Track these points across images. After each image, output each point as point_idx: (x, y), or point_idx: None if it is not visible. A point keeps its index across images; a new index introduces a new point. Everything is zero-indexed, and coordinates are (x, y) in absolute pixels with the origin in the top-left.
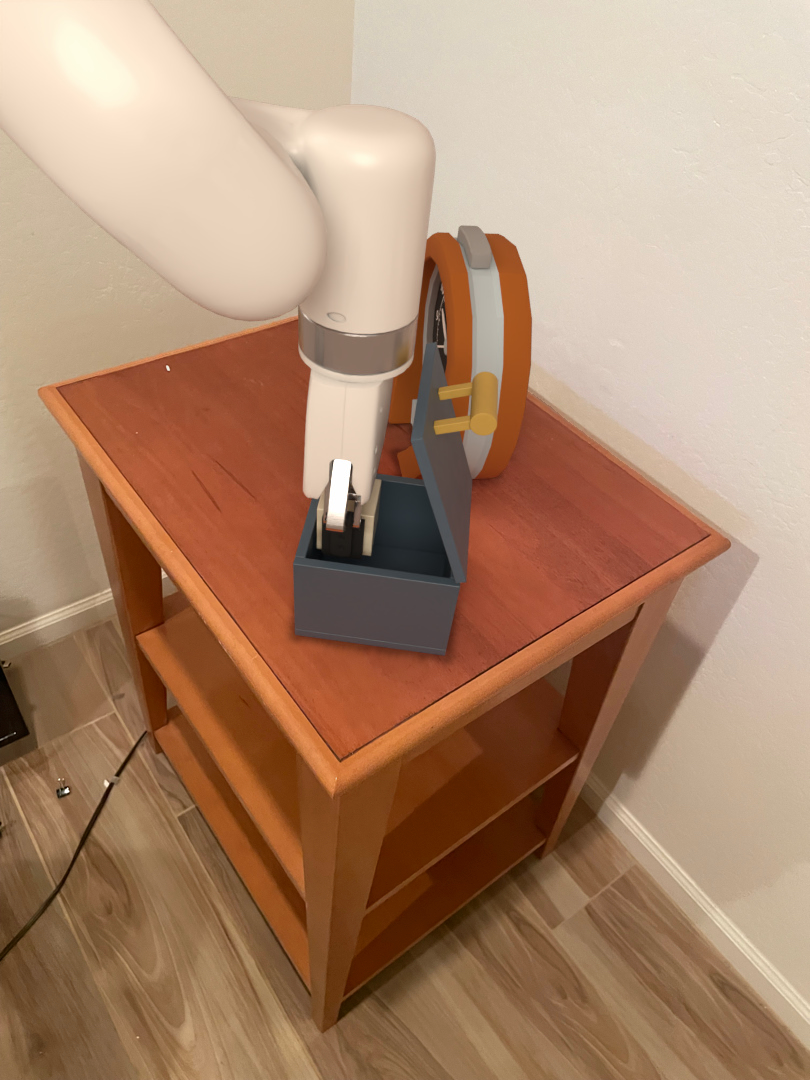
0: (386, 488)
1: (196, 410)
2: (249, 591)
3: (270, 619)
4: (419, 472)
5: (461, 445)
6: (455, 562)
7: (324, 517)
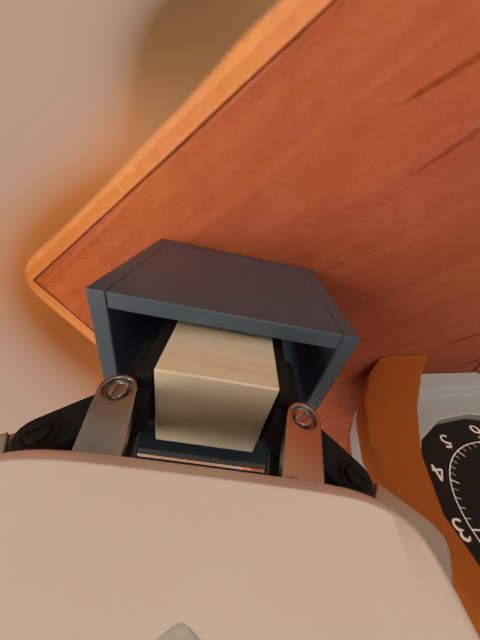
0: None
1: None
2: (224, 173)
3: (180, 207)
4: (369, 387)
5: None
6: None
7: (93, 398)
